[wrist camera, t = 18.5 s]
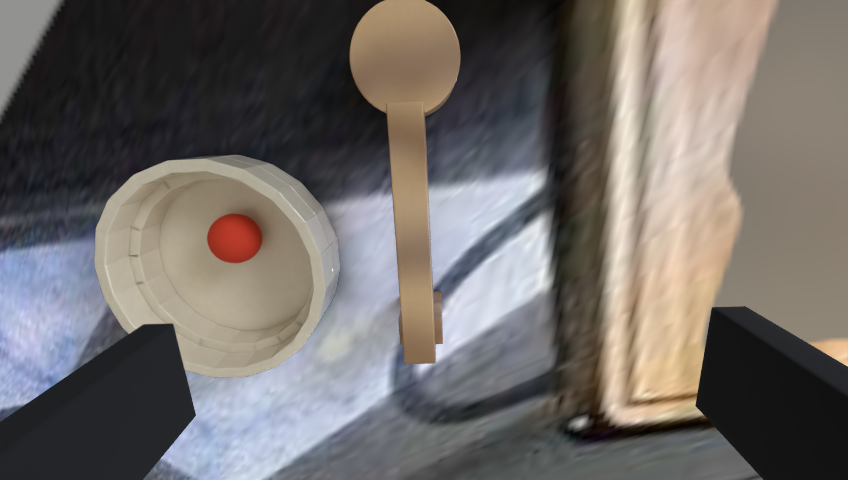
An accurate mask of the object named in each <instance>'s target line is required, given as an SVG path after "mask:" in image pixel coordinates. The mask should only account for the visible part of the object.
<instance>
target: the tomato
mask: <svg viewBox="0 0 848 480" xmlns="http://www.w3.org/2000/svg"><path fill="white" fill-rule="evenodd" d="M207 242H208V246H209V248H210V250H211V252H212V253H213V254H214V255H215V256H216V257H217V258H218V259H220V260H222V261H224V262H228V263H242V262H245V261H247V260H249V259H251V258H252V257H254V256H255V255H256V254H257V252H258V251H259V249H260V247H261V244H262V233H261V230H260V228H259V226H258V225H257V223H256V222H255V221H254V220H252V219H251V218H250V217H248V216H245V215H242V214H227V215H224V216H222V217H220V218H218V219H217V220H216V221H215V222H214V223H213V224H212V225H211V227H210V228H209V231H208V234H207Z"/></svg>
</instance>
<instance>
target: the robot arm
mask: <svg viewBox="0 0 848 480" xmlns="http://www.w3.org/2000/svg"><path fill="white" fill-rule="evenodd" d="M696 407H697V408H698V409H699V410H700V411H701V412H702V413H703V414H704V415H705V417H706V418H707V419H708V420H709V421H710V422H711V423H712V424H713V425H714V426H715V427H716V428H717V430H718V431H719V432H720V433H721V434H722V435H723V436H724V437H725V438H726V439H727V440H728V442H729V443H730V444H731V445H732V446H733V447H734V448H735V449H736V450H737V451H738V452H739V453H740V455H741V456H742V457H743V458H744V459H745V460H746V461H747V462H748V463H749V464H750V465H751V466H752V468H753V469H754V470H755V471H756V472H757V473H758V474H759V475H760V476H761V477H762V478H763V480H848V367H847V366H846V365H844V364H842V363H840V362H839V361H837V360H835V359H834V358H832V357H830V356H829V355H827V354H825V353H823V352H822V351H820V350H818V349H817V348H815V347H813V346H812V345H810V344H808V343H807V342H805V341H803V340H801V339H799V338H798V337H796V336H795V335H793V334H791V333H790V332H788V331H786V330H784V329H783V328H781V327H779V326H778V325H776V324H774V323H773V322H771V321H769V320H767V319H766V318H764V317H762V316H761V315H759V314H757V313H756V312H754V311H752V310H750V309H749V308H747V307H745V306H744V307H712V310H711V316H710V322H709V329H708V334H707V340H706V346H705V352H704V358H703V364H702V370H701V376H700V382H699V388H698V394H697V400H696ZM195 416H196V414H195V410H194V406H193V402H192V398H191V394H190V390H189V385H188V381H187V377H186V373H185V369H184V365H183V361H182V357H181V353H180V349H179V345H178V341H177V337H176V333H175V329H174V324H173V323H167V324H143V325H142V326H140V327H139V328H137V329H136V330H134V331H133V332H131V333H130V334H129V335H127V336H126V337H124V338H123V339H121V340H120V341H118V342H117V343H115V344H114V345H112V346H111V347H109V348H108V349H107V350H105V351H104V352H102V353H101V354H99V355H98V356H96V357H95V358H93V359H92V360H90V361H89V362H88V363H86V364H85V365H83V366H82V367H80V368H79V369H77V370H76V371H74V372H73V373H71V374H70V375H68V376H67V377H66V378H64V379H63V380H61V381H60V382H58V383H57V384H55V385H54V386H52V387H51V388H49V389H48V390H47V391H45V392H44V393H42V394H41V395H39V396H38V397H36V398H35V399H33V400H32V401H30V402H29V403H27V404H26V405H25V406H23V407H22V408H20V409H19V410H17V411H16V412H14V413H13V414H11V415H10V416H8V417H7V418H6V419H4V420H3V421H1V422H0V480H143V479H144V478H145V477H146V475H147V474H148V473H149V472H150V470H151V469H152V468H153V467H154V466H155V464H156V463H157V462H158V461H159V460H160V458H161V457H162V456H163V455H164V454H165V452H166V451H167V450H168V449H169V447H170V446H171V445H172V444H173V443H174V441H175V440H176V439H177V438H178V437H179V435H180V434H181V433H182V432H183V431H184V429H185V428H186V427H187V426H188V424H189V423H190V422H191V421H192V420H193V418H194V417H195Z"/></svg>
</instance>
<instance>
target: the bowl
mask: <svg viewBox="0 0 848 480" xmlns="http://www.w3.org/2000/svg"><path fill="white" fill-rule="evenodd" d="M227 214H242V215H245V216H248V217H250V218H251V219H252V220H254V221H255V222H256V223H257V225H258V226H259V228H260V230H261V233H262V244H261V247H260V249H259V251H258V252H257V254H256V255H255V256H254V257H252V258H251V259H249V260H247V261H245V262H242V263H228V262H224V261H222V260H220V259H218V258H217V257H216V256H215V255H214V254H213V253H212V252H211V250H210V248H209V246H208V242H207V234H208V231H209V228H210V227H211V225H212V224H213V223H214V222H215V221H216V220H217V219H218V218H220V217H222V216H224V215H227ZM94 263H95V264H94V266H95V269H96V273H97V276H98V280H99V283H100V287H101V290H102V294H103V297H104V299H105V301H106V302H107V304H108V305H109V307H110V309H111V310H112V312H113V313H114V315H115V317H116V318H117V320H118V321H119V323H120V325H121V326H122V327H123V329H124V330H125V331H127V332H128V333H129V334H130V333H131V332H133V331H134V330H136V329H137V328H139V327H140V326H142V325H143V324H167V323H173V324H174V329H175V333H176V337H177V341H178V345H179V349H180V353H181V357H182V361H183V365H184V369H185V371H189V372H193V373H197V374H201V375H205V376H209V377H214V378H221V377H246V376H247V377H248V376H251V375H254V374H257V373H260V372H263V371H266V370H269V369H272V368H275V367H277V366H279V365H280V364H281V363H283V362H284V361H285V360H287V359H288V358H289V357H291V356H292V355H293V354H295V353H296V352H297V351H299V350H300V349H301V348H302V347H303V345H304V344H305V342H306V341H307V339H308V338H309V336H310V335H311V333H312V331H313V330H314V328H315V327H316V325H317V324H318V322H319V320H320V319H321V317H322V316H323V314H324V312H325V311H326V309H327V308H328V306H329V304H330V303H331V301H332V299H333V298H334V295H335V291H336V286H337V282H338V277H339V273H340V261H339V252H338V243H337V237H336V235H335V233H334V230H333V228H332V226H331V224H330V221H329V219H328V217H327V215H326V213H325V210H324V209H323V207H322V206H321V205H320V203H319V202H318V201H317V200H316V199H315V198H314V197H313V195H312V194H311V193H310V192H309V191H308V190H307V189H306V187H305V186H304V185H303V184H302V183H301V182H300V181H298V180H296V179H295V178H293V177H292V176H290V175H289V174H287V173H285V172H284V171H282V170H281V169H279V168H277V167H276V166H274V165H273V164H270V163H267V162H263V161H260V160H256V159H252V158H249V157H245V156H241V155H219V156H203V157H194V158H185V159H177V160H168V161H165V162H162V163H160V164H158V165H155V166H153V167H150V168H148V169H146V170H143V171H141V172H139V173H136V174H134V175H133V176H132V177H131V178H130V179H129V180H128V181H127V182H126V183H125V184H124V185H123V186H122V187H121V188H120V189H119V190H118V191H117V192H116V193H114V194H113V195H112V196H111V197H110V199H108V202H107V204H106V206H105V208H104V211H103V213H102V215H101V218H100V220H99V222H98V225H97V227H96V233H95V255H94Z"/></svg>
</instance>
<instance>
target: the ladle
mask: <svg viewBox="0 0 848 480" xmlns="http://www.w3.org/2000/svg"><path fill="white" fill-rule="evenodd" d="M349 55H350V67H351V72H352V76H353V79H354V81H355V83H356V86H357V87H358V89H359V91H360V92H361V94H362V95H363V96H364V98H365V99H366V100H367V101H368V102H369V103H370V104H372V105H373V106H374V107H376V108H377V109H379V110H380V111H382V112H385V113H387V125H388V139H389V153H390V167H391V180H392V194H393V208H394V222H395V236H396V250H397V264H398V278H399V292H400V306H401V310H400V315H399V320H398V321H399V334H400V344H401V345H403V348H404V362H405V364H426V363H435V360H436V344H442V343H443V331H442V299H441V291H434V292H433V277H432V256H431V235H430V214H429V193H428V172H427V151H426V130H425V116H428V115H430V114H432V113H433V112H435V111H436V110H438V109H439V108H440V107H441V106H442V105H443V104H444V103H445V102H446V100H447V99H448V98H449V96H450V94H451V92H452V90H453V87H454V85H455V82H456V79H457V76H458V73H459V67H460V46H459V42H458V38H457V35H456V32H455V30H454V28H453V26H452V24H451V23H450V21H449V20H448V18H447V17H446V16H445V15H444V14H443V12H441V11H440V10H439V9H438V8H437V7H435V6H434V5H432V4H431V3H429V2H427V1H425V0H384V1H382V2H380V3H378V4H377V5H375V6H374V7H372V8H371V9H370V10H369V11H368V12H367V13H366V14H365V15H364V16H363V17H362V19H361V20H360V22H359V23H358V25H357V27H356V29H355V31H354V34H353V37H352V40H351V45H350V54H349Z"/></svg>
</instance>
